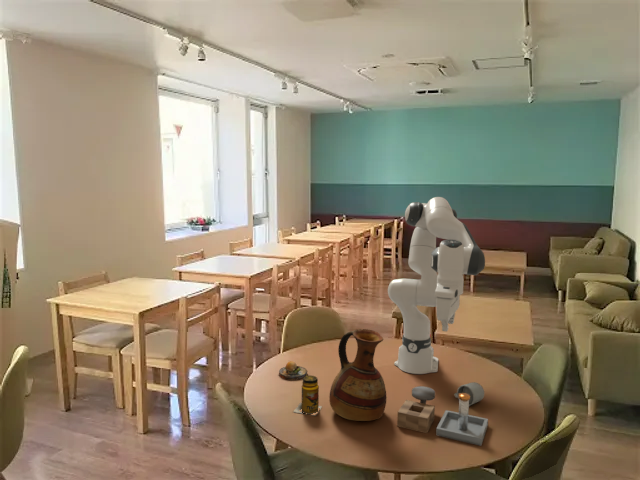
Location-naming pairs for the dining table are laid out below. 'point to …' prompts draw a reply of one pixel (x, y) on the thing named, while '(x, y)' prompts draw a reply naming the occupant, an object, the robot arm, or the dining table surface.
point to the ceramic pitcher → (359, 380)
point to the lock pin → (463, 411)
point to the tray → (450, 430)
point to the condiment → (309, 396)
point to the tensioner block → (417, 410)
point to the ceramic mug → (471, 392)
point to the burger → (292, 371)
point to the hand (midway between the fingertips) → (448, 327)
